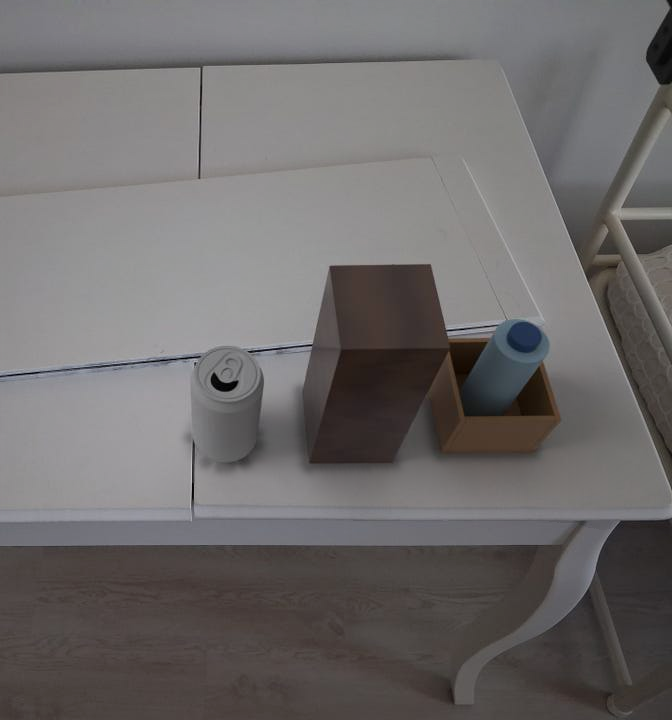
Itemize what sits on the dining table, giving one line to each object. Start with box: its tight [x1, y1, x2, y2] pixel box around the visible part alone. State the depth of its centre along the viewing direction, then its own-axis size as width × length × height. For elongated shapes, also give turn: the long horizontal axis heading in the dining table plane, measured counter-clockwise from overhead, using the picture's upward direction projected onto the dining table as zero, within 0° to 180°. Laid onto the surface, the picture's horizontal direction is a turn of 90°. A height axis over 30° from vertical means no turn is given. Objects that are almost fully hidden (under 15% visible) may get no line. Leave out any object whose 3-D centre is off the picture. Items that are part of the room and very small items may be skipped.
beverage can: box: [189, 345, 265, 463], centre depth 66 cm, size 6×6×12 cm
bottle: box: [459, 318, 551, 417], centre depth 66 cm, size 5×5×13 cm
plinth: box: [301, 263, 450, 465], centre depth 63 cm, size 8×8×20 cm
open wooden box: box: [428, 337, 562, 453], centre depth 70 cm, size 9×9×6 cm
